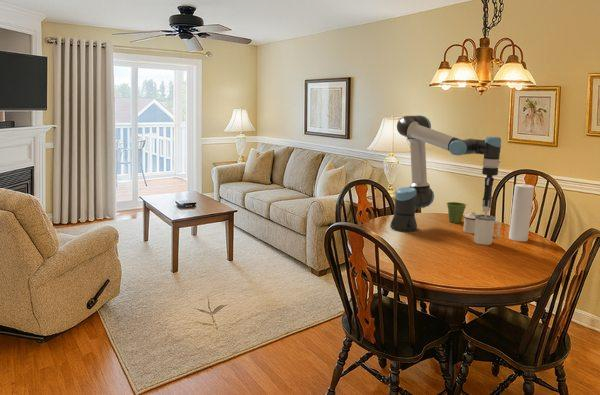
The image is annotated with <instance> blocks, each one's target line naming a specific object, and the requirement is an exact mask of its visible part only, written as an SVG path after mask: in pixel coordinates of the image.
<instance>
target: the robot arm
mask: <svg viewBox="0 0 600 395" xmlns="http://www.w3.org/2000/svg"><path fill="white" fill-rule="evenodd" d="M396 131H397V133H398V134H400V135H401V136H403V137H405V138H406V139H407V140H406V141H408V142H409V148H410V150H409V152H410V168H411V170H410V171H411V183H410V184H409V186H406V187H400V188H397V189H396V190H395V194H394V208H393V211H394V214H393V216H392V219H391V222H390V227H391V228H392V230H393V229H394V231H397V230H398V231H397V232H404V231H406V232H407V233H408V232H409V233H410V232H415V231H417V229H418V225H417V220H416V209H418V210H419V209H421V208H422V209H424V208H426V207H429V206H430V205H432V204H433V202H434V200H435V194H434V193H435V192H434V191H433V189H432V188H431V187H430V186H431V185H430V183H428V180H427V179H428V177H427V157H426V156H427V152H426V143H427V144H429V145H432V146H434V147H437V148H441V149H443V150H445V151H448V152H449V153H450V154H452V155H453V156H464V155H483V160H482V161H483V162H482V166H483V167H482V169H481V170H482V171H481V173H482V175H484V176H486V177H485V178H484V193H483V197H484V198H482V201H483V200H484V203H483V202H482V206H483V207H482V213H485V212H486V213H487V214H488V213H489V211H490V208H491V207H490V208H489V201H490V200H489V197H491V198H492V199H493V196H492V193H493V192H492V191H493V186H494V180H495V178H494V177H493V176H498V174H499V168H498V167H500V166H499V164H501V161H500V157H501V156H500V155H501V149H502V148H501V147H502V138H501V137H499V136H486V137H485V139H478V138H465V139H460V138H457V137H455V136H452V135H450V134H447V133H443V132H441V131H438V130H435V129H432V124H431V120H430V119H429V118H427V117H426V116H423V115H404V116H402V117H400V118H399V119H398V121H397V123H396ZM391 228H390V229H391ZM406 232H405V233H406Z"/></svg>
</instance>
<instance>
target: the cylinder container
mask: <svg viewBox="0 0 600 395" xmlns="http://www.w3.org/2000/svg"><path fill="white" fill-rule="evenodd" d="M534 191H535V186H534V185H532V184H525V183H523V184H522V183H517V184H514V191H513V199H512V207H511V216H510V222H509V223H510V224H509V233H508V239H510V240H512V241H515V242H527V241H529V240H528V239H529V231H530V223H531V217H532V210H533V209H532V208H533V200H534Z"/></svg>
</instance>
